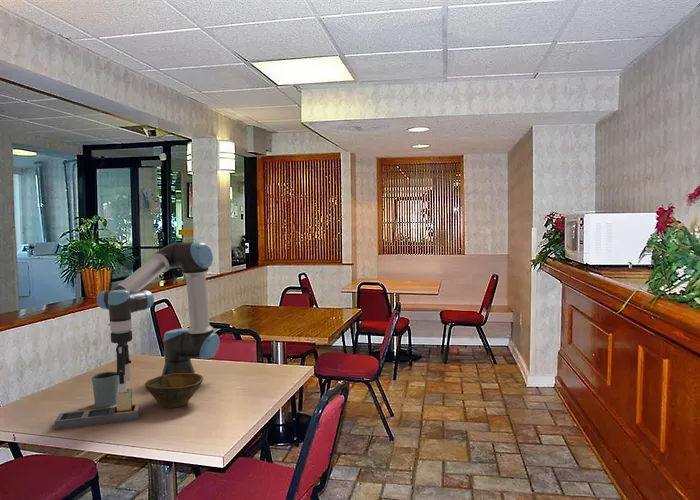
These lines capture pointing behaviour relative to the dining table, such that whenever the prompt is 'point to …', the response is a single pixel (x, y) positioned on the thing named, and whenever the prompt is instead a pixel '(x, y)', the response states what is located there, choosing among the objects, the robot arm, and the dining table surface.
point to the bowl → (174, 388)
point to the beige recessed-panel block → (124, 401)
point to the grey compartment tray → (95, 417)
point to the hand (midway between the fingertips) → (124, 386)
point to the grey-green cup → (105, 388)
